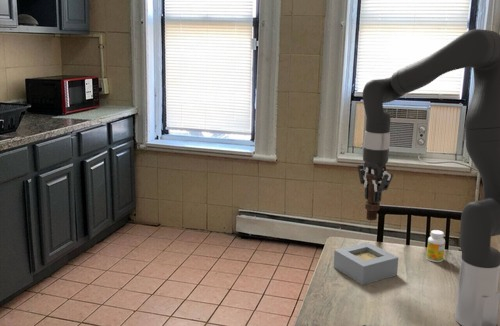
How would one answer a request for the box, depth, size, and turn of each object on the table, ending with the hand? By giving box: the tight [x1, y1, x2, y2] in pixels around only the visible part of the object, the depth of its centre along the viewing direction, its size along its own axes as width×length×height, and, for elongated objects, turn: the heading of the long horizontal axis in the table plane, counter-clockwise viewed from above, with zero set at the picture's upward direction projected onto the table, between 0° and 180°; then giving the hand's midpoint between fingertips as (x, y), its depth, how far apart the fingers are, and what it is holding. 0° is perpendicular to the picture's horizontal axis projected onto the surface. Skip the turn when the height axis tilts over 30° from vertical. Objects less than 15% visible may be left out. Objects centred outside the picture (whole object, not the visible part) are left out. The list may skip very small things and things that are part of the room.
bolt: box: [364, 172, 383, 221], centre depth 162 cm, size 6×5×15 cm
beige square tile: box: [354, 251, 378, 261], centre depth 167 cm, size 7×7×2 cm
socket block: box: [333, 241, 399, 286], centre depth 167 cm, size 14×14×6 cm
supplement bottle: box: [426, 229, 446, 263], centre depth 176 cm, size 5×5×10 cm
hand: (372, 200), depth 162 cm, fingers closed on bolt, 3 cm apart
